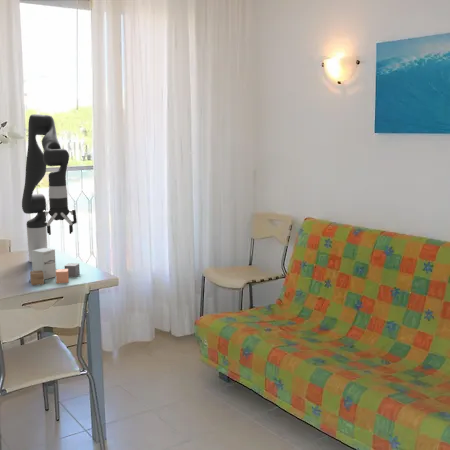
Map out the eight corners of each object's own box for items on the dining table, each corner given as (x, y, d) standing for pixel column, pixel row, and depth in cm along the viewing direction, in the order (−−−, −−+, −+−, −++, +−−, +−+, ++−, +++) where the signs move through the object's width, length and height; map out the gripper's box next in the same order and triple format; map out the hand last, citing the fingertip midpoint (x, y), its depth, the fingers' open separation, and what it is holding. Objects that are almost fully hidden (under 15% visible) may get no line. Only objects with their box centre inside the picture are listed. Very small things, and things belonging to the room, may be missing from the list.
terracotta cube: (56, 280, 266) (56, 269, 265) (68, 279, 267) (68, 268, 266) (56, 283, 261) (55, 272, 260) (68, 282, 262) (67, 271, 261)
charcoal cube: (69, 273, 277) (68, 263, 276) (79, 274, 276) (79, 263, 276) (65, 276, 272) (64, 265, 271) (75, 276, 271) (75, 266, 271)
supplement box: (43, 280, 266) (42, 252, 263) (32, 278, 269) (30, 250, 267) (56, 276, 272) (55, 249, 270) (45, 274, 276) (43, 247, 273)
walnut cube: (30, 282, 262) (29, 271, 261) (42, 281, 264) (42, 270, 263) (31, 285, 258) (31, 274, 257) (44, 284, 260) (43, 272, 259)
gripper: (75, 194, 263) (77, 231, 265) (41, 196, 260) (43, 233, 262) (75, 196, 255) (77, 234, 258) (40, 198, 252) (42, 236, 255)
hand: (60, 233), depth 260 cm, fingers open, 8 cm apart
